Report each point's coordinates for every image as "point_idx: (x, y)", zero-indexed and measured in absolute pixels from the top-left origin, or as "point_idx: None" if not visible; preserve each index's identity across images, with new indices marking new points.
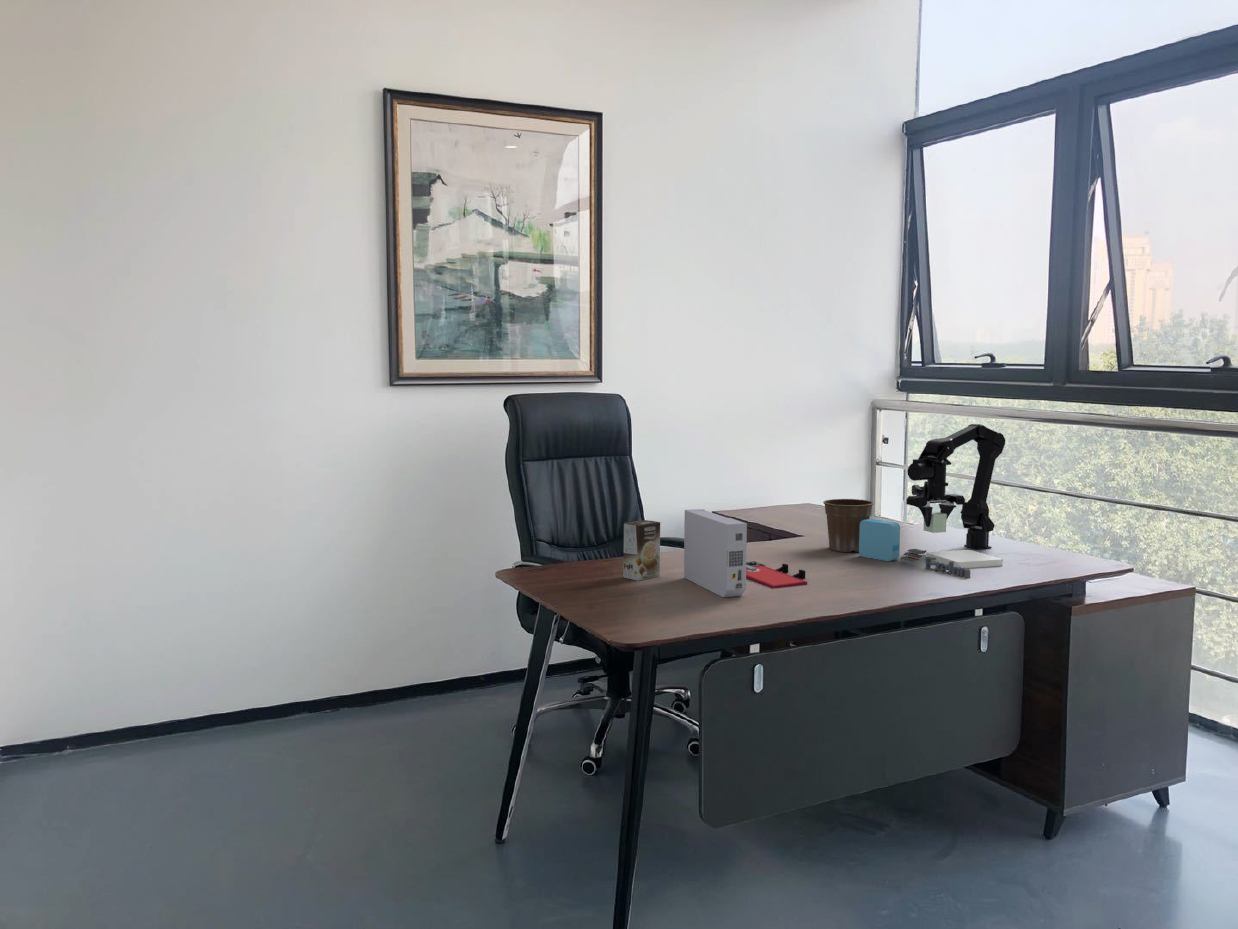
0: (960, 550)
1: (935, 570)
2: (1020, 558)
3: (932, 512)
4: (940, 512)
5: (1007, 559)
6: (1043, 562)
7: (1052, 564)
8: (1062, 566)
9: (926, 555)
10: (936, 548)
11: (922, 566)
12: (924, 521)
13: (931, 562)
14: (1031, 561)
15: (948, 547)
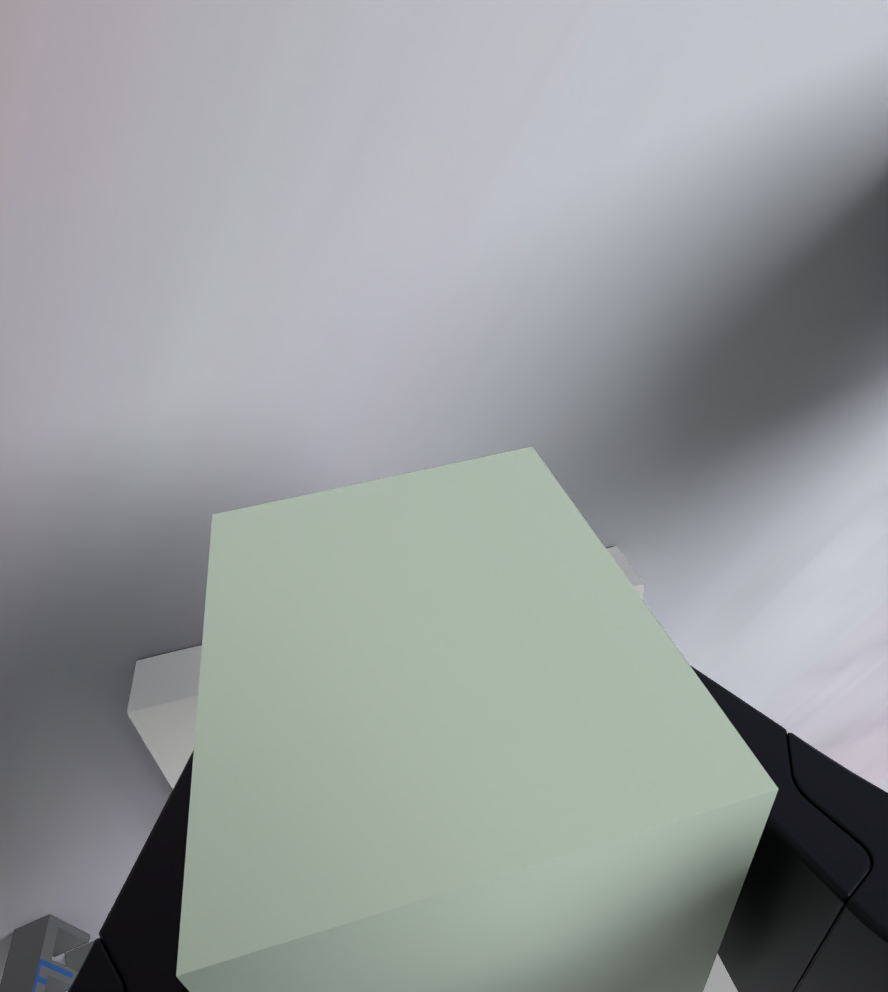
0: None
1: (74, 963)
2: (877, 621)
3: (491, 941)
4: (730, 896)
5: (776, 650)
6: (879, 707)
7: (868, 742)
8: (864, 772)
9: (133, 690)
10: (563, 79)
11: (7, 883)
12: (208, 694)
13: (49, 980)
14: (848, 690)
15: (771, 34)
